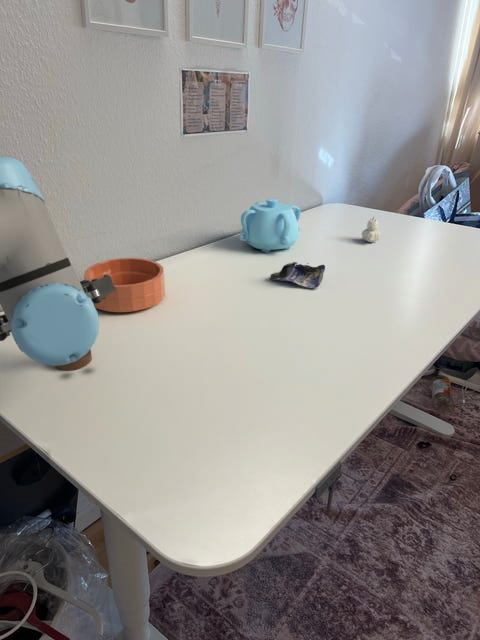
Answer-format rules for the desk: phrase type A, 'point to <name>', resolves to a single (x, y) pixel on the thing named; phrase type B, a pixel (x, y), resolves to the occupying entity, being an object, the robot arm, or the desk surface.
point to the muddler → (77, 363)
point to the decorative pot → (270, 225)
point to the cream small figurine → (371, 231)
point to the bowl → (129, 283)
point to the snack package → (300, 274)
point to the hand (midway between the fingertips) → (43, 304)
